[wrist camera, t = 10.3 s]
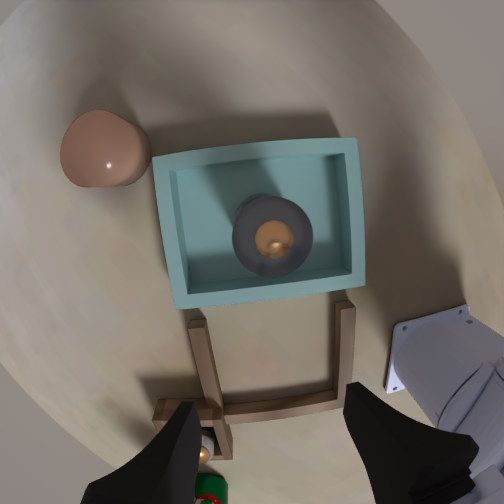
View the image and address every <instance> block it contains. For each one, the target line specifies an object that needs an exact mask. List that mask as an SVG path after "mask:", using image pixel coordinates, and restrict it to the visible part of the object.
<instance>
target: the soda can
mask: <svg viewBox="0 0 504 504" xmlns="http://www.w3.org/2000/svg"><path fill="white" fill-rule="evenodd" d="M194 504H228V484H227V482H226V481H225V480H223V479H222V478H221V477H219V476H216V475H213V474H207V473H201V474H197V476H196V482H195V492H194Z"/></svg>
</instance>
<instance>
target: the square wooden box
mask: <svg viewBox="0 0 504 504" xmlns="http://www.w3.org/2000/svg"><path fill="white" fill-rule="evenodd" d="M182 401H194V403H195V407H196V410H197V414H198V417H199V420H200V424H201V427H209V426H213V427H214V430H215V433H216V434H215V438H214V453H213V457H212V459H211V460H233V438H232V434H231V430H230V426H229V424H226V422H225V418H224V401H223V398H222V408H210V409H208V407H207V403H206V399H205V398H195V399H159V400H158V403H157V406H156V409H155V413H154V416H153V419H152V422H153V424H154V426H155V428H156V430H157V432H158V433H159V432H160V430H161V429H162V428H163V426H164V425H165V424H166V423H167V421H168V420H169V418H170V417H171V416H172V414H173V413H174V411H175V410H176V408H177V407H178V405H179V404H180V403H181V402H182ZM209 461H210V460H209Z"/></svg>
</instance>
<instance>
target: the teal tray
mask: <svg viewBox="0 0 504 504" xmlns="http://www.w3.org/2000/svg"><path fill="white" fill-rule="evenodd" d="M152 163H153V173H154V182H155V190H156V198H157V205H158V213H159V220H160V226H161V233H162V239H163V245H164V251H165V257H166V263H167V268H168V273H169V279H170V284H171V289H172V294H173V299H174V303H175V308H176V310H180V309H191V308H201V307H211V306H221V305H230V304H239V303H248V302H256V301H265V300H273V299H280V298H288V297H295V296H302V295H309V294H316V293H323V292H329V291H336V290H342V289H348V288H355V287H361V286H365V230H364V210H363V195H362V182H361V171H360V161H359V152H358V144H357V138H313V139H293V140H278V141H266V142H255V143H245V144H236V145H227V146H219V147H212V148H205V149H198V150H191V151H185V152H179V153H173V154H168V155H162V156H157V157H152ZM259 193H267V194H272V195H275V196H279V197H282V198H285V199H288V200H290V201H292V202H294V203H296V204H297V205H298V206H300V207H301V208H302V209H303V210H304V212H305V213H306V214H307V216H308V218H309V219H310V222H311V225H312V229H313V244H312V248H311V251H310V253H309V255H308V257H307V259H306V260H305V261H304V263H303V264H302V265H301V266H300V267H299V268H297V269H296V270H295V271H293V272H291V273H289V274H287V275H284V276H280V277H264V276H260V275H257V274H255V273H253V272H251V271H249V270H248V269H247V268H245V267H244V266H243V265H242V264H241V262H240V261H239V260H238V258H237V256H236V254H235V252H234V249H233V244H232V231H233V223H234V217H235V213H236V210H237V208H238V207H239V205H240V204H241V203H242V202H243V201H244V200H245V199H246V198H248V197H250V196H252V195H255V194H259Z"/></svg>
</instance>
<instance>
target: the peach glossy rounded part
mask: <svg viewBox="0 0 504 504" xmlns="http://www.w3.org/2000/svg"><path fill="white" fill-rule="evenodd" d="M60 160H61V165H62V168H63V171H64V173H65V175H66V176H67V178H68V179H69V180H70V181H71V182H73V183H74V184H76V185H78V186H81V187H116V186H127V185H130V184H132V183H134V182H136V181H137V180H138V179H140V178H141V177H142V175H143V174H144V173H145V171H146V170H147V168H148V166H149V163H150V160H151V144H150V141H149V139H148V137H147V135H146V134H145V133H144V132H143V131H142V130H141V129H139V128H138V127H136V126H134V125H132V124H131V123H129V122H127V121H125V120H123V119H122V118H120V117H118V116H116V115H114V114H112V113H111V112H108V111H105V110H92V111H89V112H86V113H84V114H82V115H81V116H79V117H78V118H77V119H76V120H75V121H74V122H73V123H72V124H71V125H70V126H69V128H68V129H67V131H66V133H65V135H64V137H63V140H62V144H61V150H60Z"/></svg>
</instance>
